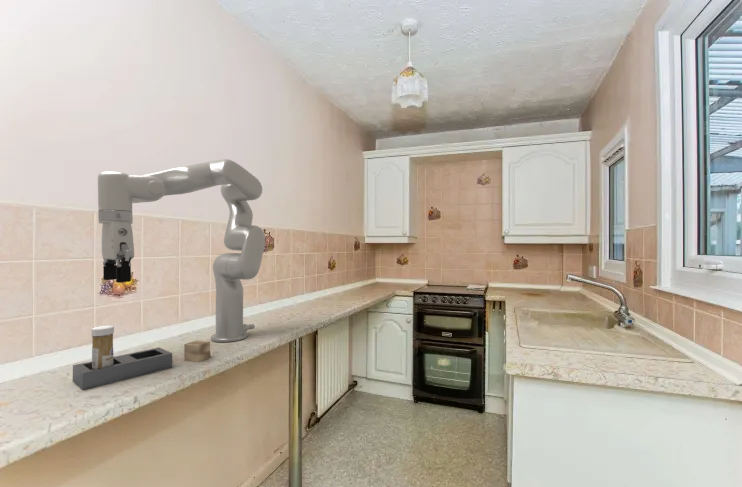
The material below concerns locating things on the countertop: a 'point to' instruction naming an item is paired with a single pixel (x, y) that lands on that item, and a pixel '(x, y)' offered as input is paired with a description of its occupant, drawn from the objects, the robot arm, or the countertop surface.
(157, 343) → the countertop surface
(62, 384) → the countertop surface
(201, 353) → the block
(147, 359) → the grey compartment tray
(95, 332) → the sprinkles bottle
